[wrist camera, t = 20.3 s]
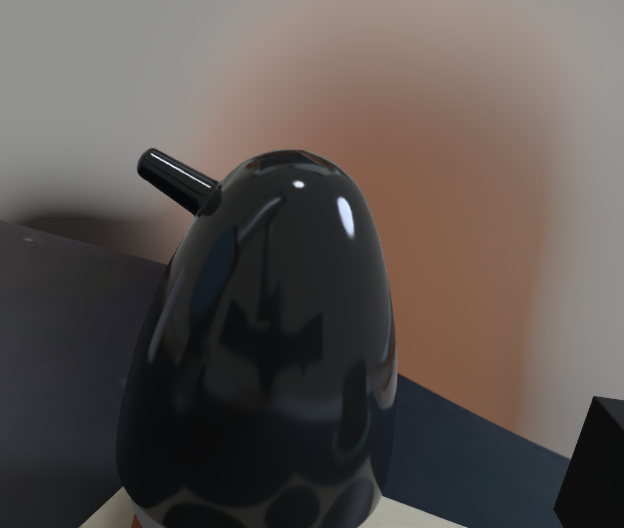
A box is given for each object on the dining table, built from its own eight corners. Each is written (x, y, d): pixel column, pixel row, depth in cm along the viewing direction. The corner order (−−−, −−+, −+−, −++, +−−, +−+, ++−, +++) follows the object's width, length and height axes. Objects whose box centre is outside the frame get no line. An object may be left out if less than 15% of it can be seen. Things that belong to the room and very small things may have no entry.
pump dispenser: (154, 430, 29) (185, 113, 24) (365, 469, 29) (436, 157, 24) (51, 609, 19) (69, 135, 14) (369, 671, 19) (490, 210, 14)
